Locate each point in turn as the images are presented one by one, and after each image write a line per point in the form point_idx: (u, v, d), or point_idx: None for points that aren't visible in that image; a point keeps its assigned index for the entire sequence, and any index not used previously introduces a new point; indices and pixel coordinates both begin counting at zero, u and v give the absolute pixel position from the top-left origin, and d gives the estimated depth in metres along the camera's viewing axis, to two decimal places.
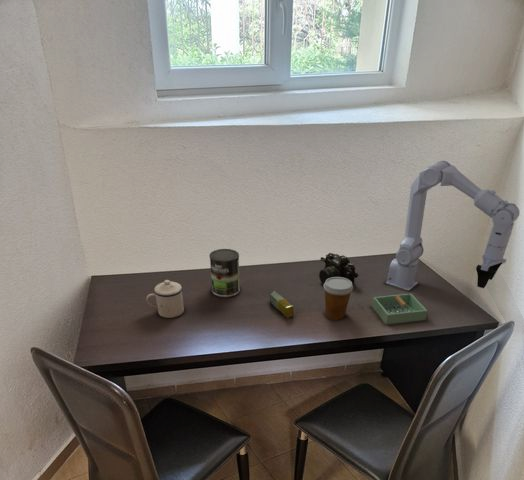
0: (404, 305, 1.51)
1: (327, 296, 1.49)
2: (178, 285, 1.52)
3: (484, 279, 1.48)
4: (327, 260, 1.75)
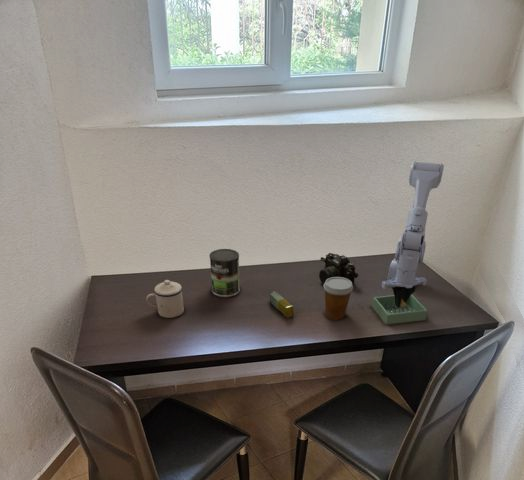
0: (404, 305, 1.51)
1: (327, 296, 1.49)
2: (178, 285, 1.52)
3: (398, 298, 1.51)
4: (327, 260, 1.75)
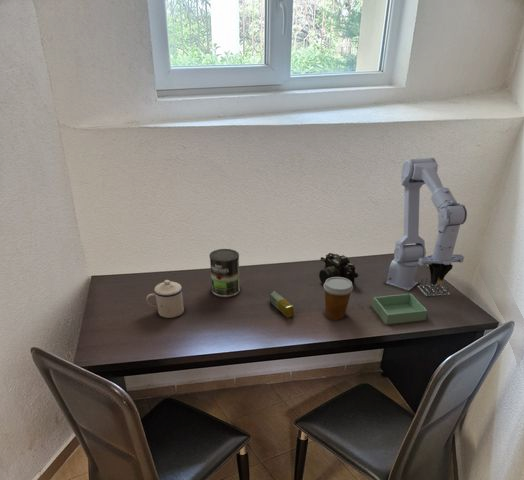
0: (441, 283, 1.48)
1: (327, 296, 1.49)
2: (178, 285, 1.52)
3: (434, 275, 1.49)
4: (327, 260, 1.75)
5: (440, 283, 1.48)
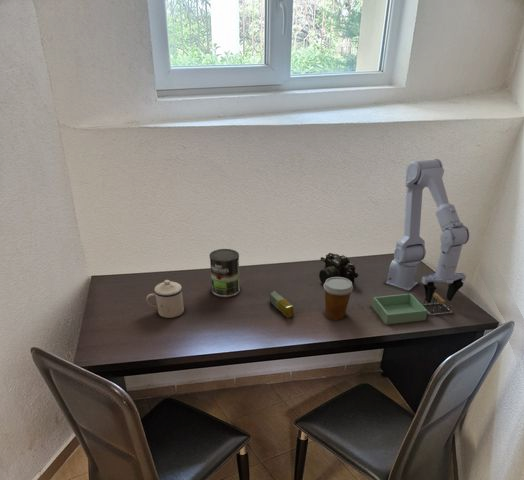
0: (443, 302, 1.53)
1: (327, 296, 1.49)
2: (178, 285, 1.52)
3: (429, 294, 1.53)
4: (327, 260, 1.75)
5: (442, 302, 1.53)
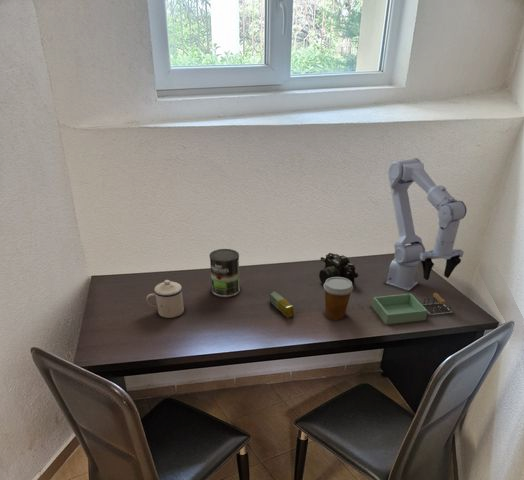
0: (443, 302, 1.53)
1: (327, 296, 1.49)
2: (178, 285, 1.52)
3: (427, 270, 1.54)
4: (327, 260, 1.75)
5: (442, 302, 1.53)
